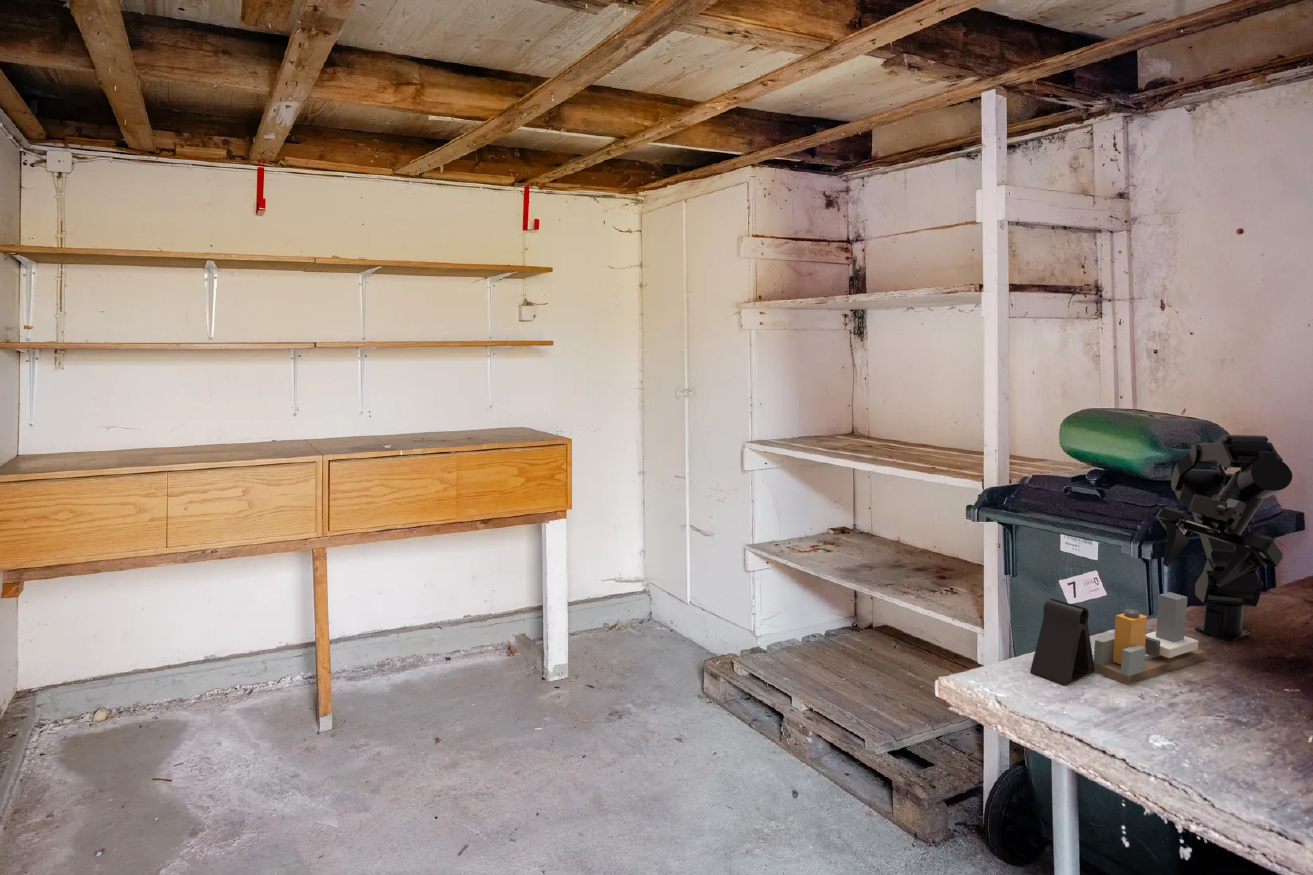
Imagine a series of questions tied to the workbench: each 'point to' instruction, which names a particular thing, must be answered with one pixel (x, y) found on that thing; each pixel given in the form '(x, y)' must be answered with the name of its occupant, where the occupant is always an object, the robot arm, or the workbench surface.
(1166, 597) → the carriage
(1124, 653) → the end housing
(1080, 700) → the workbench surface
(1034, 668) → the phone stand
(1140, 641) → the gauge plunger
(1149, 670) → the rail bed
